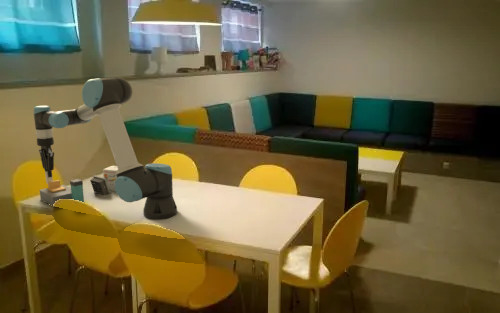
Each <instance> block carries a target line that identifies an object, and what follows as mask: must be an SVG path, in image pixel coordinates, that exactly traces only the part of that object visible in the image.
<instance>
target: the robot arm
mask: <svg viewBox="0 0 500 313" xmlns="http://www.w3.org/2000/svg"><path fill="white" fill-rule="evenodd" d="M133 92H134V91H133V88H132V85H131V84H130V82H129V81H127V80H126V79H125V78H122V77H107V78H106V77H104V78H103V77H101V78H99V77H97V78H91V79H88V80H87V81H86V82H85V83H84V85H83V87H82V91H81V99H82V102H83V103H84V104H81V105H80V106H79V107H76V108H75V109H65V110H58V111H53V110H52V109H51V107H50V106H49V105H37V106H34V107H33V118H34V120H33V121H34V127H35V136H36V144H37V146H38V147H40V148H39V149H38V152H39V155H40V159H41V164H42V169H44V170H43V171H44V173H45V182H46V184H47V185H48V182H51V181H54V179H53V172H52V171H54V169H55V168H54V167H55V165H54V161H55V160H54V158H55V152H53V149H52V147H51V146H53V145H54V144H55V141H54V137H53V136H54V129H53V128H55V129H64V128H65V127H68V126H75V125H82V124H83V125H84V124H87V123H90V122H91V120H92V119H93V118H95V117H96V116H98V118H99V120H100V123H101V125H102V128H103V132H104V134H105V137H106V139H107V142H108V145H109V147H110V150H111V153H112V156H113V158H114V162H115V163H116V166H117V167H118V171H117V173H116V176H117V179H116V180H115V185H114V187H115V191H114V192H115V193H116V195H117V197H119V199H121V200H122V201H124V202H125V203H133V202H138V201H141V200H143V199H145V198H146V199H145V203H144V207H143V212H142V213H143V216H144V217H145V218H147V219H150V220H151V219H152V220H164V219H169V218H172V217H174V216H176V215H177V213H178V207H177V204H176V201H175V199H174V193H173V171H172V167H171V165H169V164H167V163H166V164H164V163H157V162H156V163H154V162H152V163H146V164H145V166H144V165H143V164H141V163H140V162H139V161H138V159H137V156H136V153H135V150H134V147H133V144H132V142H131V139H130V137H129V134H128V131H127V128H126V124H125V123H124V119H123V117H122V114H121V112H120V109H121V107H122V106H123V105H124V104H126V103H128V102H130V100H131V99H132V97H133Z"/></svg>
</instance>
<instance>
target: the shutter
mask: <svg viewBox="0 0 500 313" xmlns="http://www.w3.org/2000/svg"><path fill="white" fill-rule="evenodd" d="M47 188H48V190H49V191H51V192H58V191H63V190H66V188H64V187H62V186H61V180H60V179H57V180H53V181H51V182H48V184H47Z"/></svg>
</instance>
